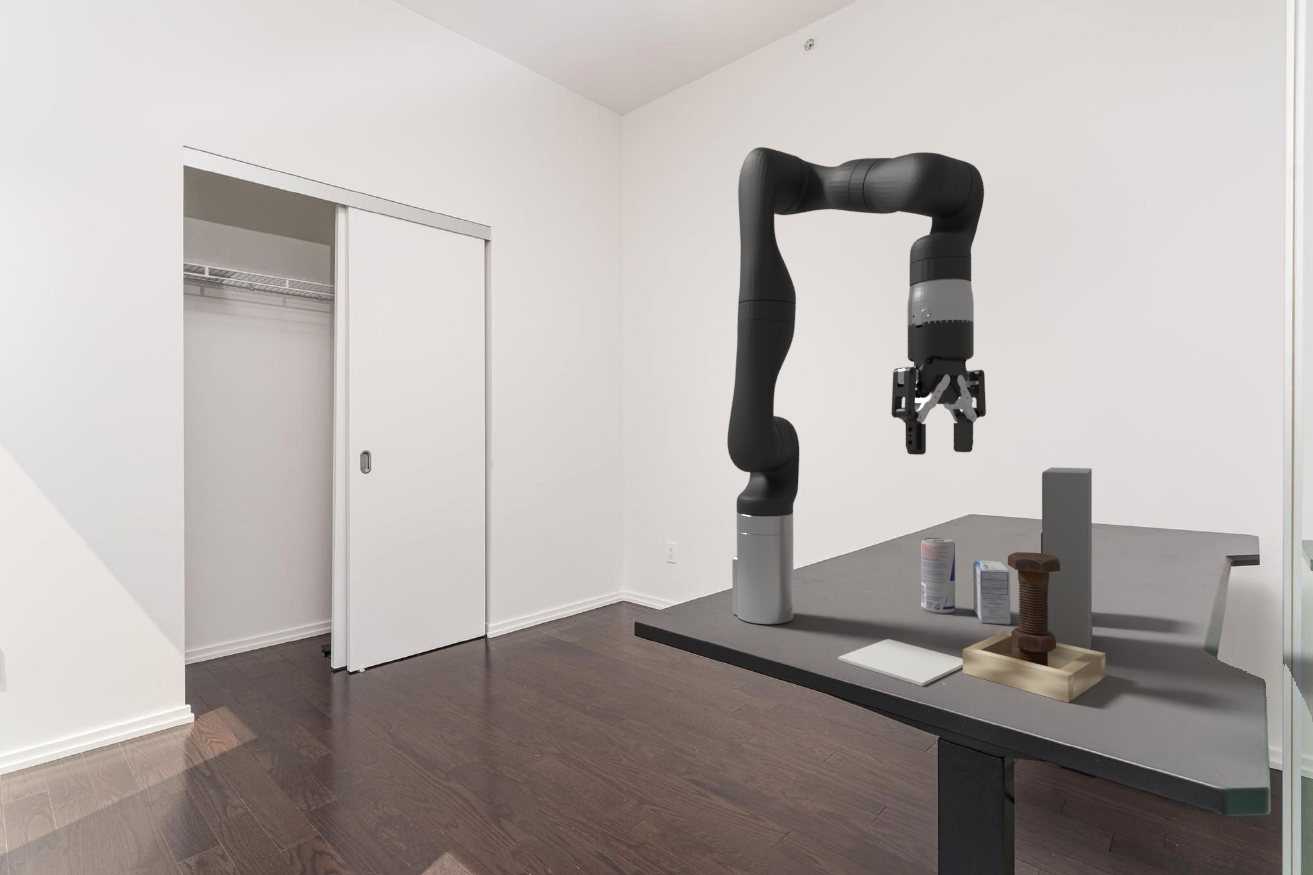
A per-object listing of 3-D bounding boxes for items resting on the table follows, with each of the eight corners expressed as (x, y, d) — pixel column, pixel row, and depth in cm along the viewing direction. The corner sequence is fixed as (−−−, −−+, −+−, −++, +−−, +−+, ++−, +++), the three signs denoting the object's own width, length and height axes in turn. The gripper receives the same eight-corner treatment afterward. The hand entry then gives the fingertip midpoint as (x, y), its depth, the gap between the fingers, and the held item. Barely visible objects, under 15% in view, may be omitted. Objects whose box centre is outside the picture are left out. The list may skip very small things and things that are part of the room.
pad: (838, 659, 89) (838, 656, 89) (887, 641, 97) (887, 638, 97) (922, 686, 80) (922, 682, 80) (969, 663, 87) (969, 660, 87)
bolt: (1064, 685, 80) (1064, 560, 80) (1019, 682, 81) (1019, 559, 81) (1046, 668, 86) (1046, 552, 85) (1004, 665, 87) (1004, 550, 86)
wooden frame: (962, 672, 84) (962, 649, 84) (1004, 652, 92) (1004, 630, 92) (1068, 702, 75) (1068, 676, 75) (1105, 677, 82) (1105, 653, 82)
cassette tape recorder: (1044, 629, 102) (1045, 467, 102) (1092, 636, 99) (1092, 468, 98) (1035, 654, 91) (1035, 472, 91) (1088, 663, 87) (1088, 473, 87)
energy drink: (957, 608, 114) (957, 538, 114) (952, 615, 110) (952, 543, 110) (924, 604, 117) (924, 536, 117) (918, 611, 113) (918, 540, 113)
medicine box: (1010, 625, 104) (1010, 570, 104) (979, 623, 106) (979, 569, 106) (1002, 612, 112) (1002, 561, 112) (972, 610, 113) (972, 559, 113)
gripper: (952, 329, 89) (952, 450, 89) (874, 322, 82) (875, 454, 82) (1004, 321, 82) (1004, 452, 82) (925, 313, 75) (925, 456, 76)
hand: (940, 453), depth 82 cm, fingers open, 8 cm apart
